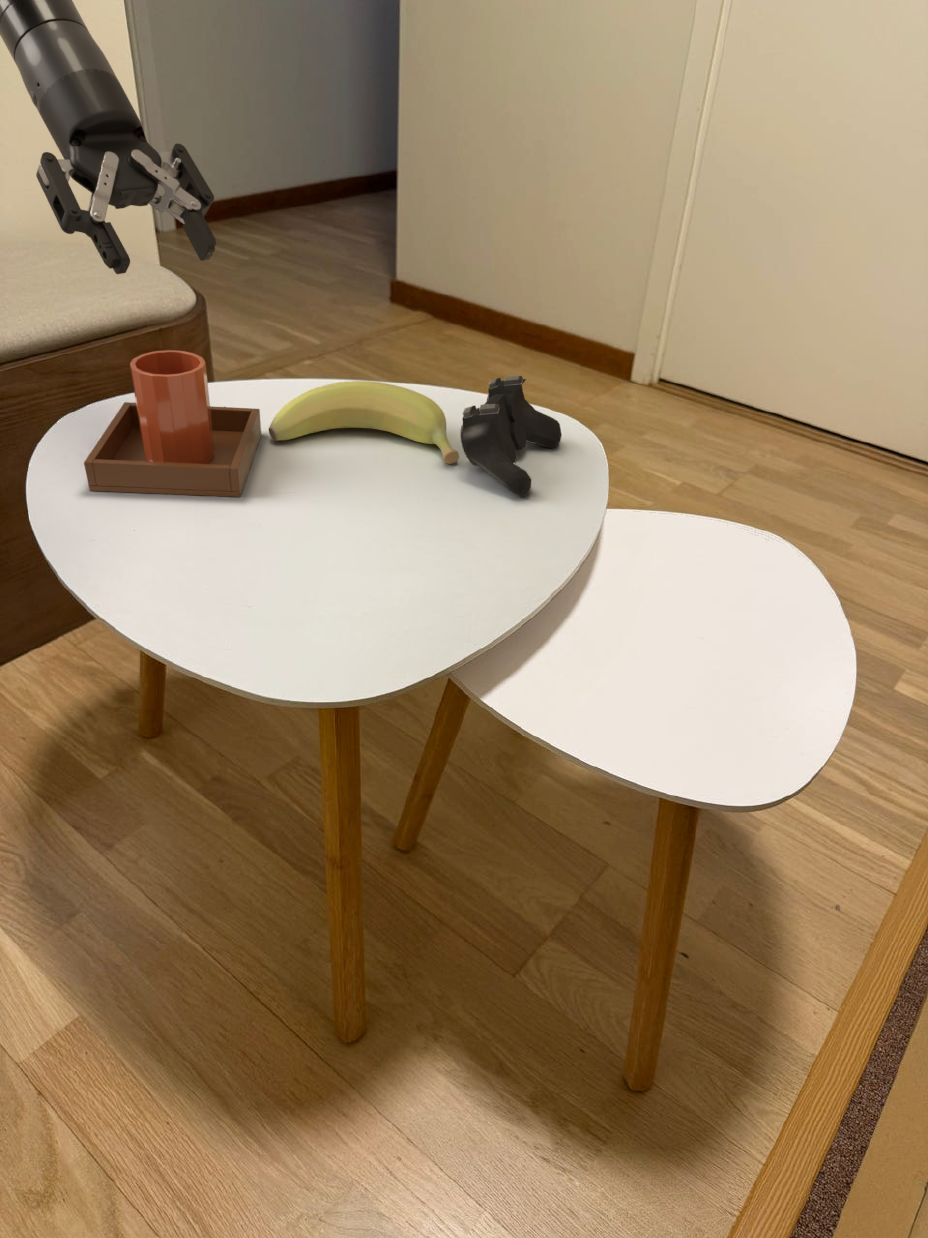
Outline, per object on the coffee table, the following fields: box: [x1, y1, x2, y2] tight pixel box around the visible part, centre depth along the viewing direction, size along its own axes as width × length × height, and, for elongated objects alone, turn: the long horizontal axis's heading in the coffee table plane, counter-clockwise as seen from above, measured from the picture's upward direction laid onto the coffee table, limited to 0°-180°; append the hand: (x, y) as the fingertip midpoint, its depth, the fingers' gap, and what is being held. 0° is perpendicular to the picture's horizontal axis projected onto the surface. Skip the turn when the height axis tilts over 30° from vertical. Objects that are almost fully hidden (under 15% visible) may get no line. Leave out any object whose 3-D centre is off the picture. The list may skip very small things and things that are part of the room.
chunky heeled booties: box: [460, 375, 562, 498], centre depth 97 cm, size 16×7×10 cm, turn 161°
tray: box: [83, 401, 262, 498], centre depth 93 cm, size 15×15×3 cm
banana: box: [268, 380, 460, 465], centre depth 99 cm, size 14×6×20 cm
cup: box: [129, 349, 214, 464], centre depth 91 cm, size 7×7×10 cm
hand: (168, 261), depth 79 cm, fingers open, 8 cm apart
